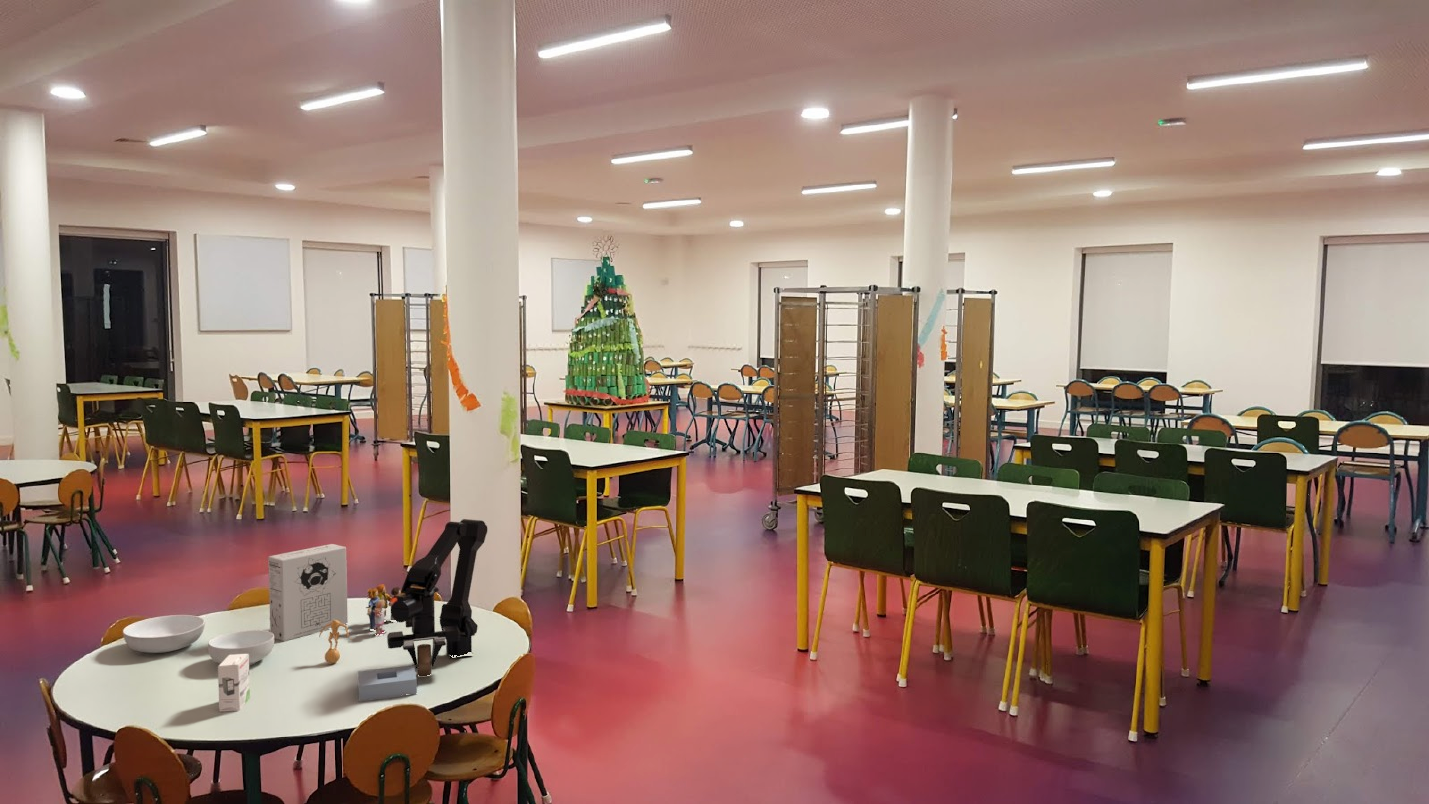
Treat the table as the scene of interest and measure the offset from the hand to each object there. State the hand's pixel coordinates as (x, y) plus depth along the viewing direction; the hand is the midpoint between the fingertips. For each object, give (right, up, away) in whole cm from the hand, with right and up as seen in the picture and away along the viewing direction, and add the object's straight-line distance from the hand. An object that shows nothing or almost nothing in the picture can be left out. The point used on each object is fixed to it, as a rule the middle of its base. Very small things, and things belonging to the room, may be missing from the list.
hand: (424, 667), depth 260 cm
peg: (0, -2, 0) cm, 2 cm away
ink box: (-41, -4, -21) cm, 46 cm away
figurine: (-28, -1, +9) cm, 30 cm away
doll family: (-27, +1, +40) cm, 48 cm away
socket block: (-6, -3, -11) cm, 13 cm away
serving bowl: (-82, 0, +19) cm, 84 cm away
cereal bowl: (-54, -1, +8) cm, 54 cm away
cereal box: (-47, +1, +36) cm, 59 cm away
